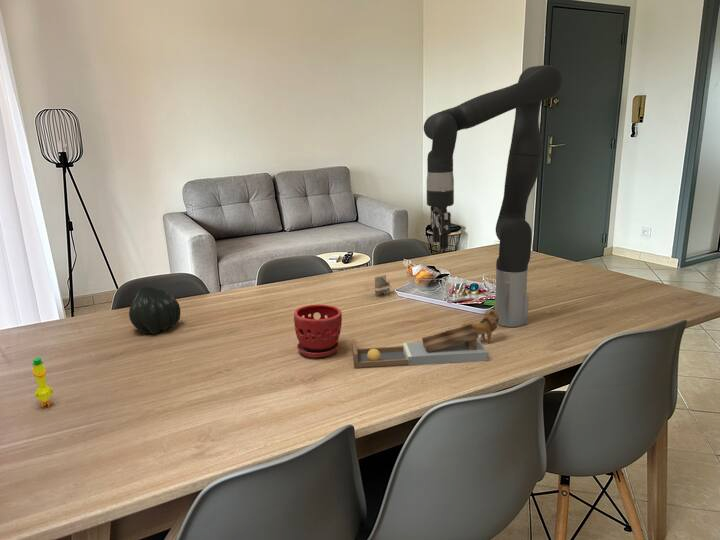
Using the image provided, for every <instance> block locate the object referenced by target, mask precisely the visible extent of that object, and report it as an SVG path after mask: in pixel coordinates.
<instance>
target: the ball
mask: <svg viewBox="0 0 720 540" xmlns="http://www.w3.org/2000/svg"><path fill="white" fill-rule="evenodd" d="M367 358H368V360H369V361H379V360H380V358H381V354H380V352H379V351H378V350H377V349H371V350H369V351H368V353H367Z"/></svg>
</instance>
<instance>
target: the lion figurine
mask: <svg viewBox="0 0 720 540" xmlns="http://www.w3.org/2000/svg"><path fill="white" fill-rule="evenodd" d="M498 322H499V315H498V313H497V311H496V310H495V309H492V308H491V309H488V310H487V311H486V312H485V315H484V316H483V318H482V319H481V321H478V322H477V321H475V322H472V321H465V322H464V323H462V324H461V326H460V327H462V326H465V325H468V324H472V327H473V330H474V331H477V333H478V336H480V335H481V337H480V341H483V342H484V341H487V344H493V341H492V340H491V339H492V334H493V332H494V331H495V330H496V329H497V328H498V326H499V325H498ZM485 334H486V336H485ZM486 337H487V338H486Z"/></svg>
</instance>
